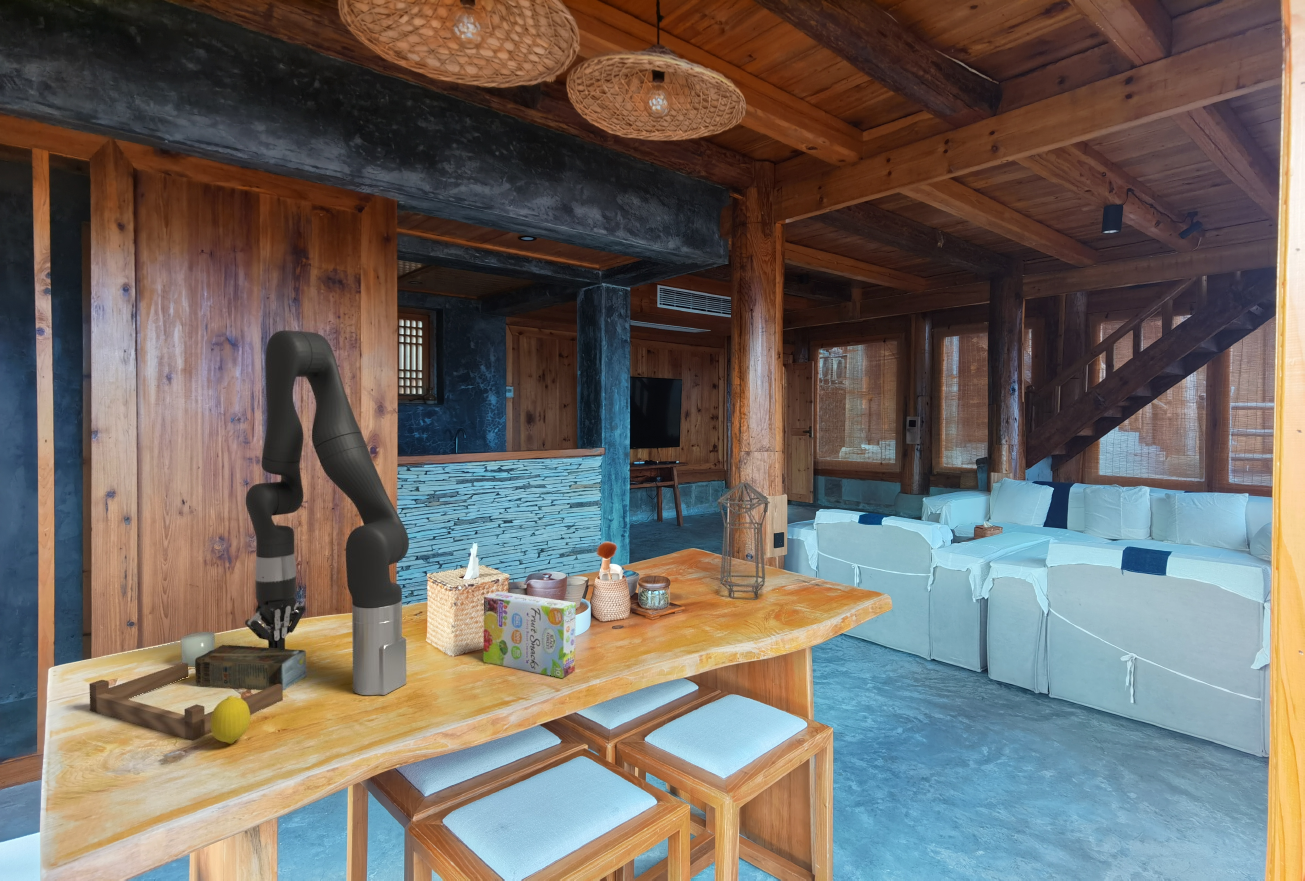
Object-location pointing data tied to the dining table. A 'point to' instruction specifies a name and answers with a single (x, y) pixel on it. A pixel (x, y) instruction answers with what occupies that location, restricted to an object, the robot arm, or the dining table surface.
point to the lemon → (230, 719)
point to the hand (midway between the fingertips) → (276, 655)
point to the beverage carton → (250, 667)
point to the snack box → (530, 633)
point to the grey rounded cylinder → (196, 646)
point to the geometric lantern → (763, 501)
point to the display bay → (160, 719)
